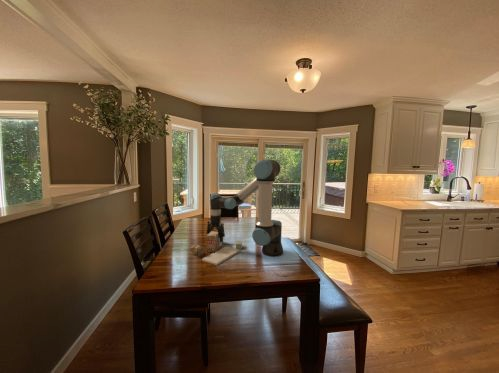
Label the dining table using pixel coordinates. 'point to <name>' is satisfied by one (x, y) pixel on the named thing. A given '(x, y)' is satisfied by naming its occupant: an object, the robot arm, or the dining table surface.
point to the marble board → (221, 255)
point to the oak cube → (194, 250)
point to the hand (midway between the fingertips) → (215, 244)
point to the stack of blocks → (213, 241)
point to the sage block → (239, 245)
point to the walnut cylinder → (201, 251)
